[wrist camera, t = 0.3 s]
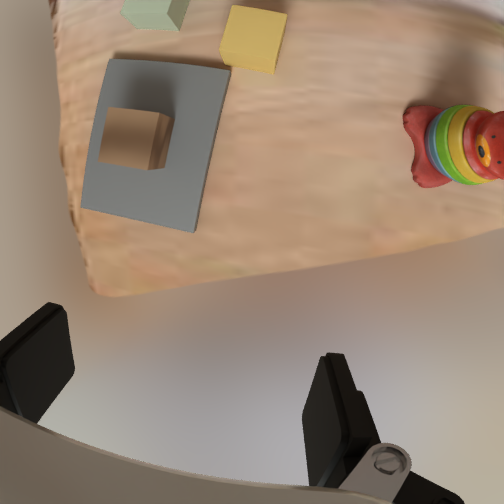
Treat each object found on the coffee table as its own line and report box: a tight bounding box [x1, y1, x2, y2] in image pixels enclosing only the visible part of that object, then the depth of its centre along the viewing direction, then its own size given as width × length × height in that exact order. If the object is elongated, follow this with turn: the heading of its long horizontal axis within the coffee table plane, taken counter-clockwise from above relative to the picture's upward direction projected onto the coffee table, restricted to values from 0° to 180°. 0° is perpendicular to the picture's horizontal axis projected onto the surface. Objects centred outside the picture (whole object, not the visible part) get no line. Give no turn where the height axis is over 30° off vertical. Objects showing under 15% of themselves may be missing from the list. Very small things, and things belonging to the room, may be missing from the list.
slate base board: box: [81, 59, 231, 233], centre depth 37 cm, size 20×16×2 cm
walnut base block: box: [98, 107, 175, 170], centre depth 33 cm, size 6×6×6 cm
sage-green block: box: [120, 0, 190, 31], centre depth 29 cm, size 6×6×6 cm
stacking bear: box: [403, 105, 504, 188], centre depth 27 cm, size 11×10×18 cm
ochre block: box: [219, 5, 288, 74], centre depth 31 cm, size 6×6×6 cm
